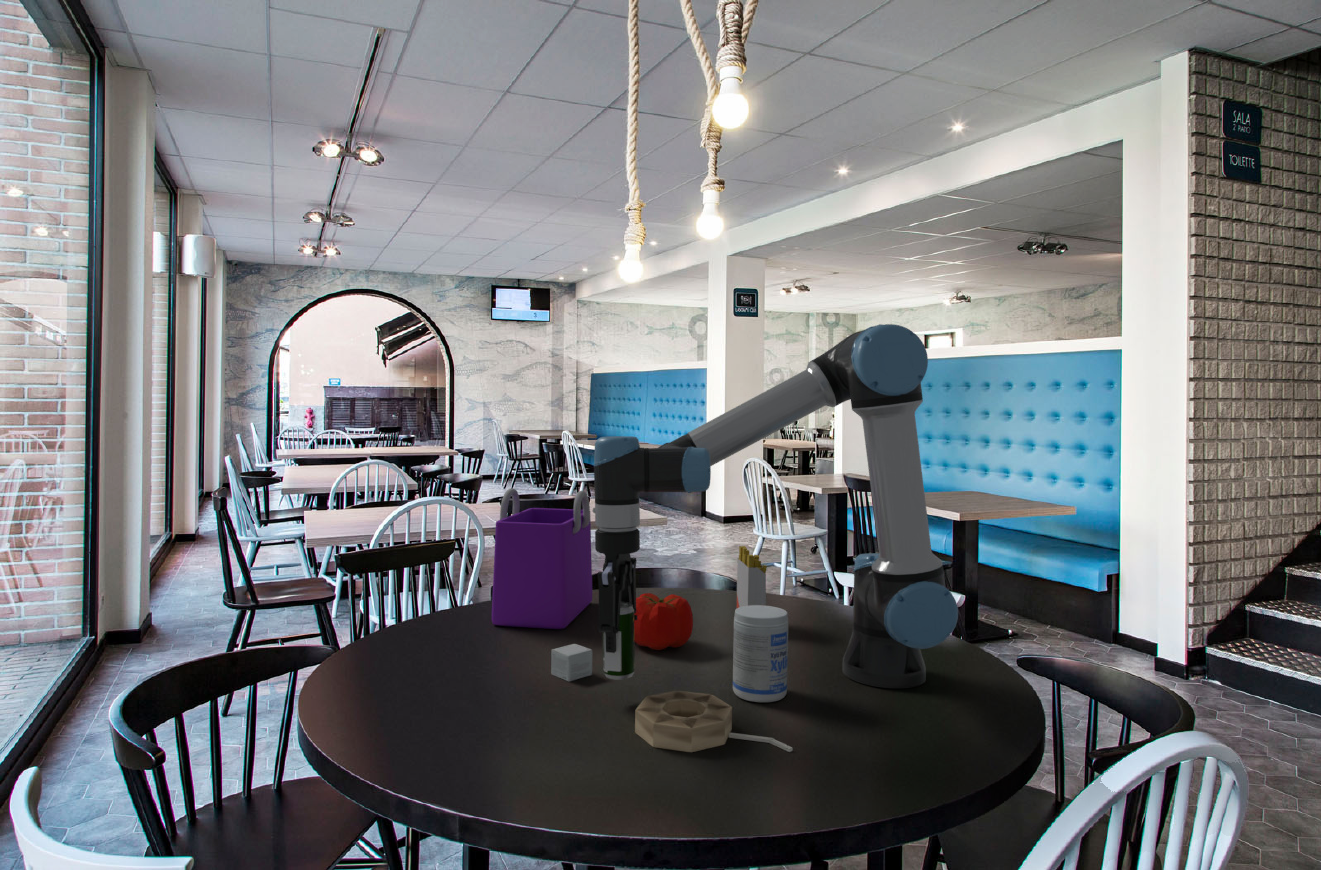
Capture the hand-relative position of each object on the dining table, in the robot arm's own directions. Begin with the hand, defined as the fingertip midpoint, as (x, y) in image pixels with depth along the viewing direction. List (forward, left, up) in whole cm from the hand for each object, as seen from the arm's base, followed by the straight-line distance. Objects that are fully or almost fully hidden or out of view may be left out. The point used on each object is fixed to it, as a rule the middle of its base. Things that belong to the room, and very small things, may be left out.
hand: (618, 663), depth 132 cm
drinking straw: (-25, +9, -6) cm, 28 cm away
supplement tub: (-22, -11, -7) cm, 26 cm away
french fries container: (-14, -52, -7) cm, 54 cm away
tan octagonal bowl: (-13, +8, -6) cm, 17 cm away
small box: (+13, -10, -7) cm, 17 cm away
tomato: (+2, -32, -7) cm, 33 cm away
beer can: (0, 0, -2) cm, 2 cm away
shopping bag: (+35, -47, -7) cm, 59 cm away
